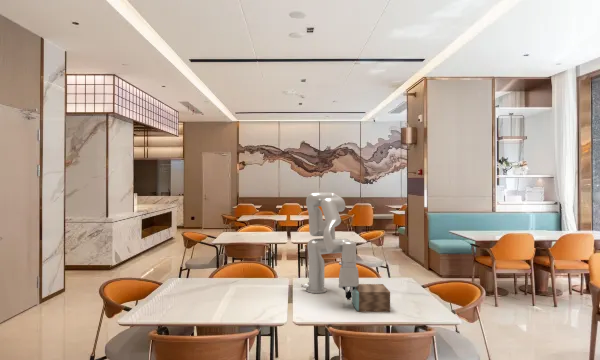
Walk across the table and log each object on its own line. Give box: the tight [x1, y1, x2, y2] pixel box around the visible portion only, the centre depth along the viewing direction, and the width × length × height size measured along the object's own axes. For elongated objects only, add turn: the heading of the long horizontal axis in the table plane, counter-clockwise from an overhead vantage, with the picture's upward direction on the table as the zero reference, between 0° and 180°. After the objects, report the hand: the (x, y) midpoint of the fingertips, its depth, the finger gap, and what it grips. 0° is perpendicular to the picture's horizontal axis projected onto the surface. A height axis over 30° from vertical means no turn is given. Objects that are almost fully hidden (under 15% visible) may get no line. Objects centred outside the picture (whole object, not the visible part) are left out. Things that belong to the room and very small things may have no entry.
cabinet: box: [356, 283, 391, 313], centre depth 216 cm, size 16×16×10 cm
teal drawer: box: [351, 289, 359, 312], centre depth 216 cm, size 16×16×9 cm
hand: (348, 299), depth 215 cm, fingers closed
